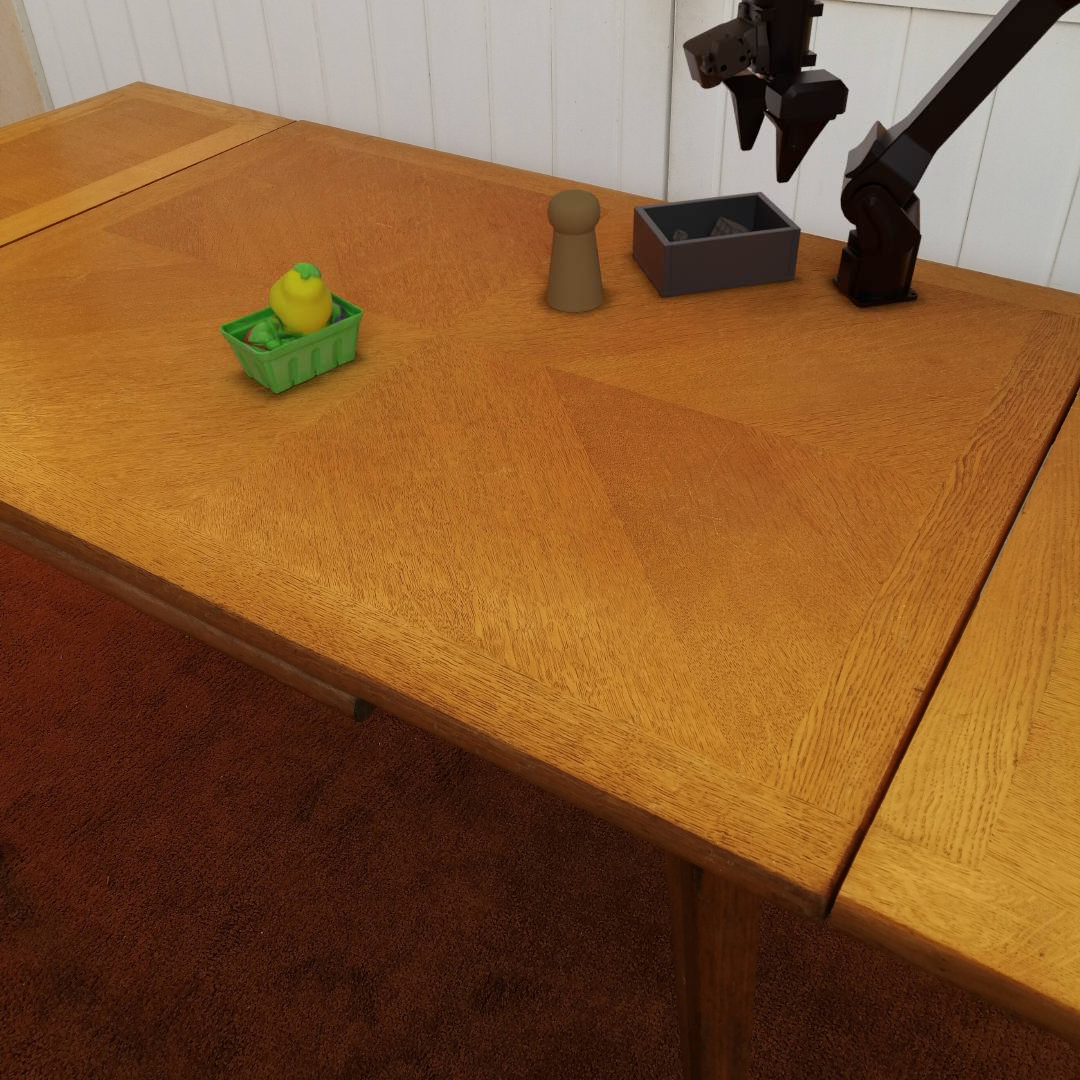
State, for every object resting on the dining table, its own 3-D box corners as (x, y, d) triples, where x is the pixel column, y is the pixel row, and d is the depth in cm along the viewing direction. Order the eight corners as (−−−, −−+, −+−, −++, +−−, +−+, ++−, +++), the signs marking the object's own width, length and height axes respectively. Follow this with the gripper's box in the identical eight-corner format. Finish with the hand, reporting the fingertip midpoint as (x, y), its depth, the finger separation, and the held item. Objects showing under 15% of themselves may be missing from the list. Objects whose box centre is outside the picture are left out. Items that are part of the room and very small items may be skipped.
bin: (755, 240, 113) (761, 191, 110) (794, 279, 105) (801, 228, 102) (632, 255, 111) (633, 206, 108) (662, 297, 103) (664, 245, 100)
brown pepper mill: (599, 314, 101) (599, 207, 94) (540, 310, 102) (536, 204, 95) (608, 287, 105) (609, 183, 98) (551, 283, 107) (549, 181, 99)
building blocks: (756, 236, 106) (696, 213, 102) (730, 283, 109) (671, 261, 105) (742, 225, 108) (683, 201, 104) (717, 271, 111) (659, 249, 107)
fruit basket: (327, 332, 100) (307, 222, 92) (382, 363, 95) (365, 249, 88) (228, 376, 94) (197, 262, 87) (280, 411, 89) (253, 293, 82)
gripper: (663, -26, 94) (655, 143, 104) (736, 20, 80) (719, 211, 90) (774, -36, 96) (756, 132, 106) (865, 8, 82) (834, 197, 92)
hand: (763, 165), depth 98 cm, fingers open, 9 cm apart
